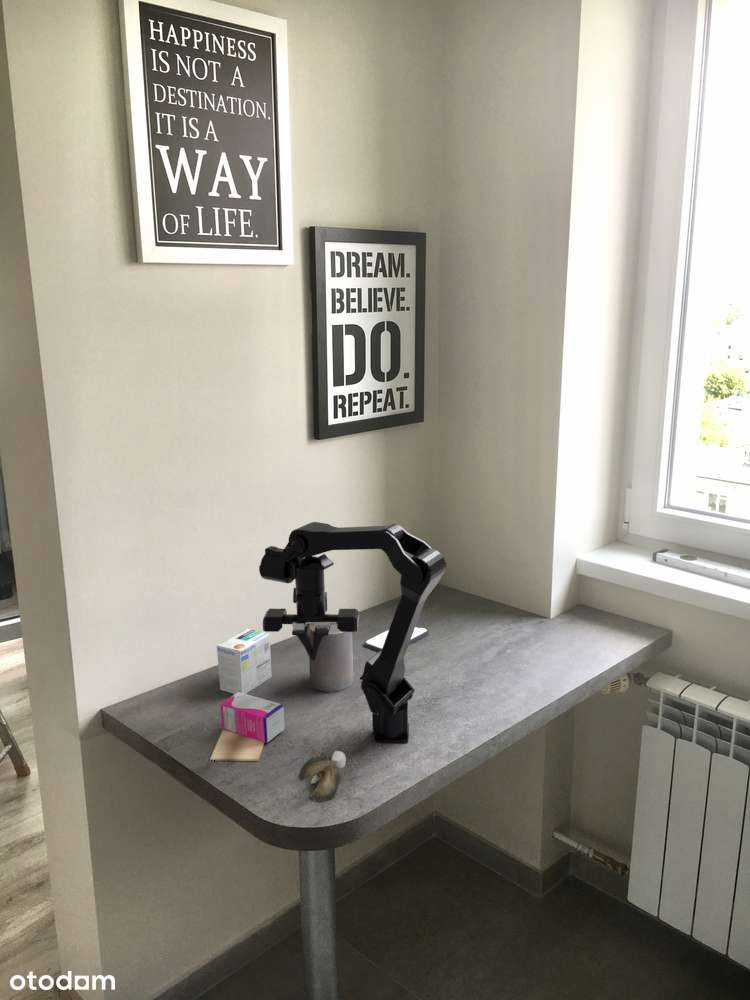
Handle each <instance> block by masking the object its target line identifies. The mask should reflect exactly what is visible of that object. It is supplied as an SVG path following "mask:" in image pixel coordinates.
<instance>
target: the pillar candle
mask: <svg viewBox="0 0 750 1000" xmlns="http://www.w3.org/2000/svg"><path fill="white" fill-rule="evenodd" d="M315 628H316V627H315V624H310V632H311V639H312V646H313V637H314V631H315ZM308 657H309V656H308ZM353 659H354V658H353V632H341V631H340V630H339V629H338V628H337V624H331V628H330V631H329V635H326V636H323V638H322V640H321V642H320V644H319V647H318V651H317V654H316V658H315V660H311V659H310V657H309V659H308V660H309V662H308V663H309V684H310V686H311V687H312V688H313V689H315V690H317V691H320V692H325V693H329V692H330V693H332V692H333V693H334V692H340V691H345V690H346V689H349V687H351V686H352V684H353V681H354V670H353V669H354V667H353V665H354V664H353V662H354V661H353Z"/></svg>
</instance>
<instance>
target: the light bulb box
mask: <svg viewBox="0 0 750 1000" xmlns="http://www.w3.org/2000/svg"><path fill="white" fill-rule="evenodd" d="M270 639H271V638H270V633H267V632H265V631H263V632H262V631H258V630H254V629H251V628H246V629H244V630H242V631H241V632H239V633H237V634H236V635H234V636H232V637H230V638H228V639H226V640H225V641H223V642H221V643H219V644H216V653H217V654H216V655H217V663H218V676H219V689H220V690H221V691H224V692H227V693H230V694H232V695H234V694H236V693H237V692H240V693H243V694H248V693H249V692H252V691H253V689H256V688H258V687H259V686H260V685H262V684H264V683H265V682H266V681H268V680H269V679H271V678H272V676H273V675H272V658H271V656H272V654H271V641H270Z"/></svg>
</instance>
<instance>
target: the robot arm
mask: <svg viewBox="0 0 750 1000" xmlns="http://www.w3.org/2000/svg"><path fill="white" fill-rule="evenodd" d="M351 550H352V551H354V550H355V551H356V550H360V551H362V550H382V551H383V552H384V553H385V555H386V557H387V558H388V560H389V561H390V564H391V565H392V568H393V569H395V570H396V571H397V572H398V574H400V575H401V576H400V581H399V584H400V590H401V591H400V592H401V595H400V596H401V597H400V598H399V602H398V605H397V607H396V609H395V612H394V615H393V618H392V621H391V623H390V626H389V629H388V630H389V631H388V634H387V637H386V640H385V642H384V645H383V648H382V651H380V652H378V651H377V652H376V654H374V655H373V656H372V657H370V658H369V659H368V660H367V661H365V664H364V667H363V672H362V675H361V676H360V677H359V680H361V683H360V689H361V691H362V692H363V694H364V696H365V700H366V703H367V705H368V707H369V711H370V713H372V714H371V717H372V721H371V723H372V735H374V741H375V742H376V743H409V741H410V740H409V737H410V735H409V734H410V733H409V732H410V725H409V724H410V723H409V701H410V700H411V699H413V696H414V693H415V688H414V687H413V686H412V685H411V684H410V682H408V680H407V678H405V677H404V676H405V672H406V666H405V662H404V660H405V659H404V658H405V655H406V653H407V650H408V648H409V646H410V645H409V642H410V640H411V637H412V634H413V632H414V629H415V626H417V624H418V622H419V618H420V616H421V613H422V610H423V607H424V605H425V602H426V600H427V598H428V596H429V595H430V594H431V593H432V591H433V590H434V589H435V587H436V586H437V585H438V584H439V582H440V580H441V578H442V577H443V576H444V574H445V572H446V569H447V562H446V560H445V557H444V556H443V554H441V552H439V551H438V550H436V549H434V548H432V547H431V546H430V545H429V544H428V543H427V542H425V541H424V540H423V539H421V538H419V537H416V536H415V535H413V534H411V533H409V532H408V531H407V530H405V529H404V528H403V526H401V525H399V524H394V523H391V524H388V525H371V526H349V527H347V526H345V527H344V526H343V527H338V526H333V525H331V524H329V523H324V522H320V521H319V522H317V521H312V522H308V523H307V524H305V525H303V526H300V527H298V528H296V529H293V530H292V531H290V533H289V537H288V543H287V544H286V545H285V547H284V548H279V547H277V546H273V545H270V546H267V547H266V548H265V549H264V555H263V556H262V559H261V560H260V563H259V566H258V568H259V569H258V570H259V574H260V577H261V578H262V579H264V580H267V581H268V580H269V581H274V582H279V583H284V584H291V583H293V581H294V580H295V587H293V593H292V602H293V604H296V614H291V613H290V614H288V613H287V611H288V610H287V609H286V608H268V609H267V610H266V611H265V614H264V616H263V619H262V631H263V632H264V633H267V632H270V633H271V632H272V633H273V632H274V633H275V632H280V631H281V629H283V625H292V630H291V634H292V636H296V637H297V638H298V639H299V641H300V643H301V645H303V647H304V649H305V651H306V653H307V655H308V657H310V659H311V660H315V658H316V654H317V651H318V647H319V644H320V642H321V640H322V638H323V636H326V635H329V631H330V628H331V624H337V628H338V629H339V630H340V631H341V632H352V633H354V632H358V628H359V624H360V611H359V610H358V609H356V608H339V609H338V613H337V614H330V613H326V612H328V591H327V592H326V587H325V586H326V584H325V570H326V569H328V568H330V567H332V566H334V561H332V559H330V558H329V557H328V556H327V555H326V553H328V552H331V551H351ZM323 553H324V554H323ZM406 553H408V554H409V555H411V556H412V557H410V556H409V555H407V554H406ZM316 555H319V556H316ZM310 624H315V627H316V628H315V631H314V637H313V646H312V639H311V632H310ZM408 645H409V646H408Z"/></svg>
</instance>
